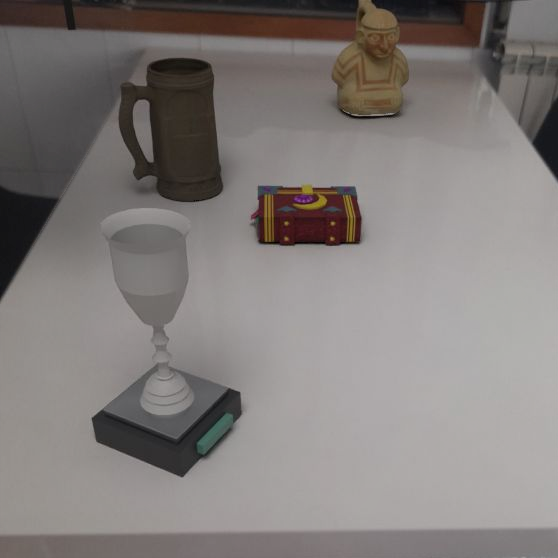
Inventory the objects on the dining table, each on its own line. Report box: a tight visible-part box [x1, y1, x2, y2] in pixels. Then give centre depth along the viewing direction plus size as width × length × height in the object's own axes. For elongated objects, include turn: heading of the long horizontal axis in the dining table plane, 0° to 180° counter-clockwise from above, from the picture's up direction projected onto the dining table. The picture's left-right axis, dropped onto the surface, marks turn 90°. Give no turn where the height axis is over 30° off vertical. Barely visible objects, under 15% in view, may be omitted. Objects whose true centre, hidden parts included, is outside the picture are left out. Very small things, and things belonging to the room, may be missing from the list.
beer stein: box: [118, 57, 224, 202], centre depth 112 cm, size 15×11×20 cm
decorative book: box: [250, 184, 363, 246], centre depth 107 cm, size 11×16×5 cm
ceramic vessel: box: [330, 0, 410, 115], centre depth 151 cm, size 17×20×25 cm
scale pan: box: [102, 364, 230, 444], centre depth 69 cm, size 8×8×1 cm
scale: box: [91, 363, 243, 478], centre depth 70 cm, size 11×10×3 cm
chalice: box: [99, 207, 194, 415], centre depth 63 cm, size 7×7×18 cm
